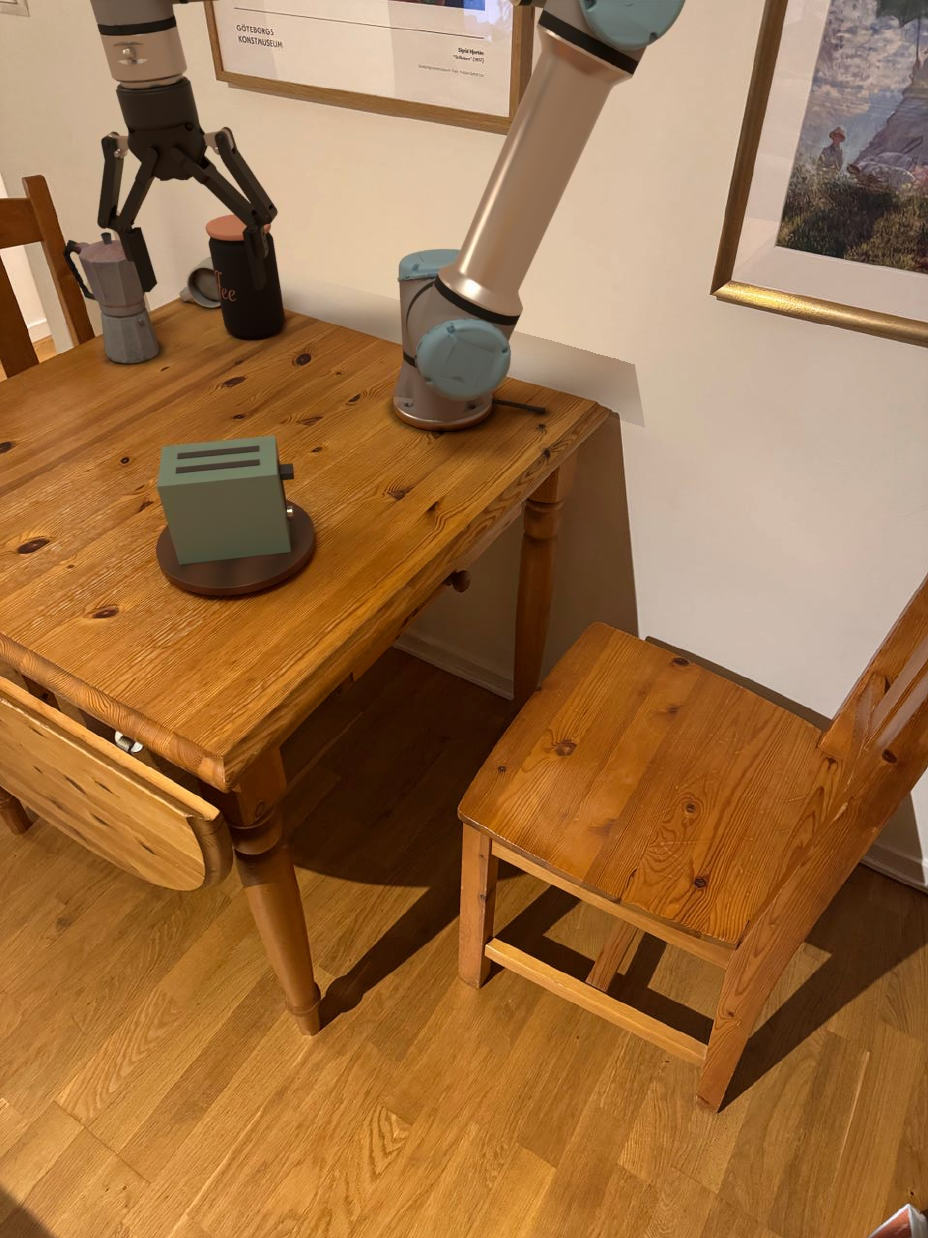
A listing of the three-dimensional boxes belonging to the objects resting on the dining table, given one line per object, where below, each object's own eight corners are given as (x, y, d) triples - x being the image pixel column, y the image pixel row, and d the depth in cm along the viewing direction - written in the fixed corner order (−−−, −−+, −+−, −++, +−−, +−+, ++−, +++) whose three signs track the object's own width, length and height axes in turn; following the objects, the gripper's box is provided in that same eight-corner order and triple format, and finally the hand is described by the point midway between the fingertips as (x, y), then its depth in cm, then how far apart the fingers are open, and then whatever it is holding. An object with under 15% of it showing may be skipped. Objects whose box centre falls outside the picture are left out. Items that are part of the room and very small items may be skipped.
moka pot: (160, 369, 143) (127, 245, 129) (75, 361, 145) (35, 238, 132) (185, 344, 150) (156, 224, 136) (103, 337, 152) (68, 218, 138)
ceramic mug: (242, 291, 167) (234, 250, 162) (231, 308, 161) (222, 266, 156) (188, 291, 167) (178, 250, 162) (175, 308, 161) (165, 266, 156)
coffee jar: (224, 319, 157) (204, 216, 145) (283, 313, 159) (268, 210, 147) (227, 344, 150) (205, 237, 138) (288, 338, 152) (273, 231, 139)
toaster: (152, 605, 98) (122, 516, 89) (163, 509, 112) (139, 424, 103) (320, 584, 100) (306, 496, 92) (311, 493, 114) (299, 409, 106)
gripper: (19, 92, 86) (92, 301, 101) (260, 81, 84) (300, 297, 98) (51, 76, 92) (117, 276, 106) (279, 65, 89) (314, 272, 103)
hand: (205, 286), depth 102 cm, fingers open, 13 cm apart
